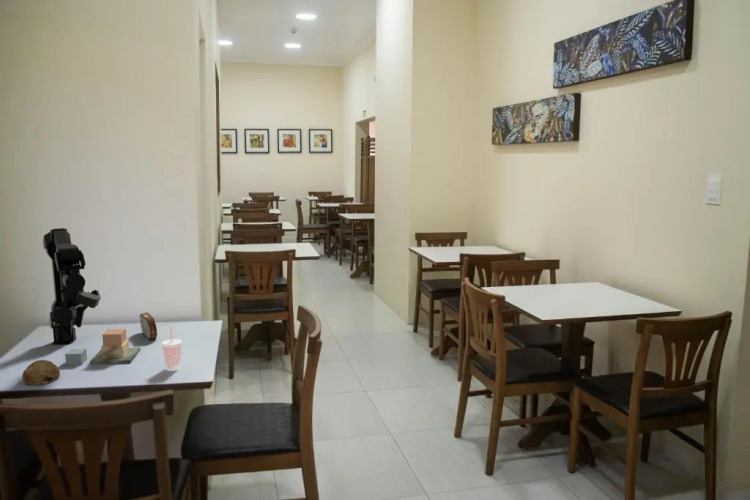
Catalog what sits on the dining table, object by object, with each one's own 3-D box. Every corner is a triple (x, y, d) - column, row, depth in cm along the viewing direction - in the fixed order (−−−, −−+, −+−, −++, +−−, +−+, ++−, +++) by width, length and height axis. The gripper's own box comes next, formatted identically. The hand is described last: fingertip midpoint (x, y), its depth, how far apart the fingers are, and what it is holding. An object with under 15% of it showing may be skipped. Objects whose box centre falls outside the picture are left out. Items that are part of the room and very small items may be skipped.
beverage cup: (175, 363, 206) (173, 323, 203) (186, 367, 202) (184, 326, 199) (159, 368, 201) (157, 327, 198) (170, 373, 197) (167, 331, 195)
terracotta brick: (103, 346, 207) (102, 334, 207) (108, 340, 213) (107, 329, 212) (121, 345, 208) (121, 334, 207) (126, 339, 214) (125, 328, 213)
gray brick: (65, 365, 203) (65, 354, 203) (71, 360, 208) (70, 349, 208) (81, 365, 204) (80, 353, 203) (87, 359, 209) (86, 348, 208)
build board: (89, 364, 204) (88, 349, 203) (102, 351, 217) (101, 337, 216) (130, 362, 206) (129, 348, 205) (140, 350, 219) (139, 336, 218)
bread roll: (31, 398, 186) (36, 378, 183) (13, 378, 190) (17, 358, 187) (63, 387, 194) (67, 368, 191) (45, 368, 198) (49, 349, 195)
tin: (158, 340, 229) (157, 318, 228) (149, 342, 228) (148, 320, 226) (147, 330, 242) (146, 309, 240) (139, 331, 240) (138, 310, 238)
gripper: (86, 291, 194) (90, 339, 196) (105, 278, 212) (108, 322, 214) (49, 292, 192) (53, 340, 195) (71, 279, 210) (74, 323, 213)
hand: (74, 331), depth 204 cm, fingers open, 9 cm apart
